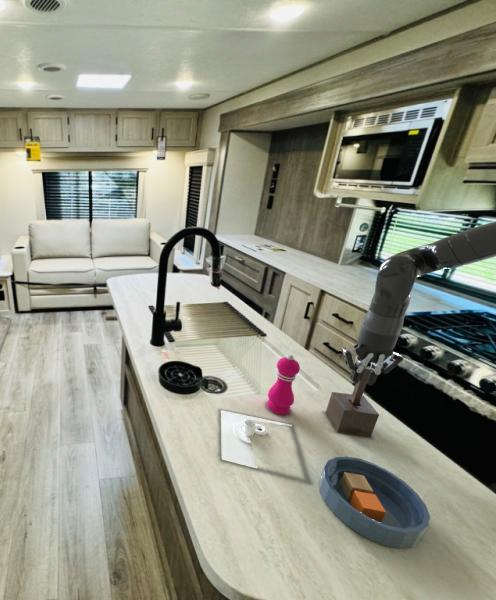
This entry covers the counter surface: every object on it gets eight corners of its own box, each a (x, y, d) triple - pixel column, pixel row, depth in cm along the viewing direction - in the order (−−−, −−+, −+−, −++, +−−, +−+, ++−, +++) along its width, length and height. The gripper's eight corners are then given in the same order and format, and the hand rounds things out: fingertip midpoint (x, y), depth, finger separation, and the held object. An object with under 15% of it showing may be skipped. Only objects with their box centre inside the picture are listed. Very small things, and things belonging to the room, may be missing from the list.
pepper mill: (268, 414, 98) (281, 359, 91) (263, 399, 105) (274, 347, 97) (294, 417, 96) (309, 362, 89) (286, 402, 103) (300, 349, 96)
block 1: (358, 487, 74) (363, 475, 72) (368, 503, 70) (373, 491, 69) (339, 483, 75) (344, 471, 73) (347, 499, 71) (352, 487, 70)
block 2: (369, 506, 69) (375, 494, 68) (380, 524, 66) (386, 512, 64) (349, 502, 70) (354, 490, 69) (358, 520, 67) (363, 507, 65)
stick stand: (355, 416, 96) (363, 395, 93) (370, 436, 89) (379, 414, 86) (325, 412, 98) (331, 391, 95) (337, 431, 91) (344, 410, 88)
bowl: (388, 481, 76) (395, 464, 74) (442, 561, 60) (454, 542, 58) (307, 466, 80) (312, 450, 78) (338, 538, 64) (345, 520, 62)
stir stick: (348, 422, 94) (368, 366, 87) (351, 426, 93) (371, 369, 85) (342, 421, 94) (361, 365, 87) (345, 425, 93) (364, 369, 86)
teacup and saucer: (264, 428, 92) (267, 417, 91) (268, 449, 86) (271, 437, 84) (233, 421, 95) (234, 411, 94) (234, 441, 88) (236, 429, 87)
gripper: (356, 331, 80) (339, 387, 86) (423, 337, 77) (399, 394, 83) (343, 319, 87) (327, 372, 93) (403, 324, 83) (383, 378, 90)
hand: (361, 382), depth 88 cm, fingers open, 3 cm apart
